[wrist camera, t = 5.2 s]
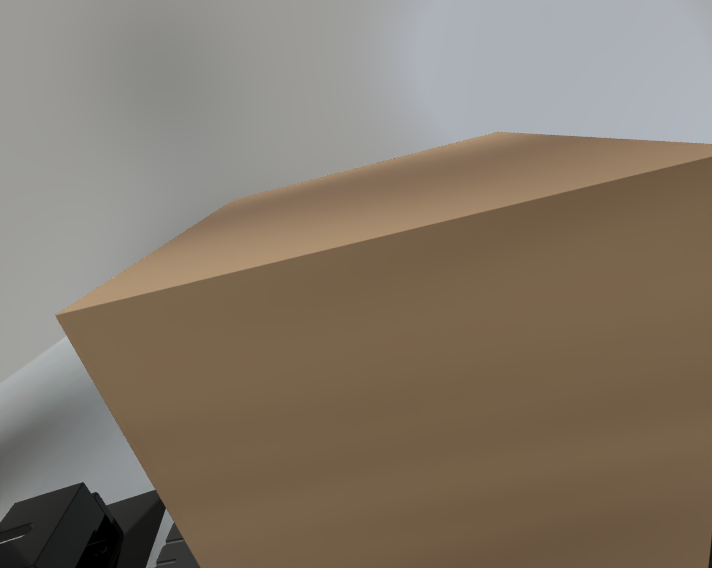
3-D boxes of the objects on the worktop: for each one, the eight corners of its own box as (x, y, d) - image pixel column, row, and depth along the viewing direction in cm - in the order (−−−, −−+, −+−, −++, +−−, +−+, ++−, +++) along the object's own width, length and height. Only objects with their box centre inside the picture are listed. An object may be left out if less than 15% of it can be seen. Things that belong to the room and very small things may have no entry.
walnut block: (672, 906, 8) (752, 146, 3) (411, 933, 8) (56, 315, 3) (550, 611, 12) (498, 131, 7) (389, 637, 13) (233, 199, 8)
